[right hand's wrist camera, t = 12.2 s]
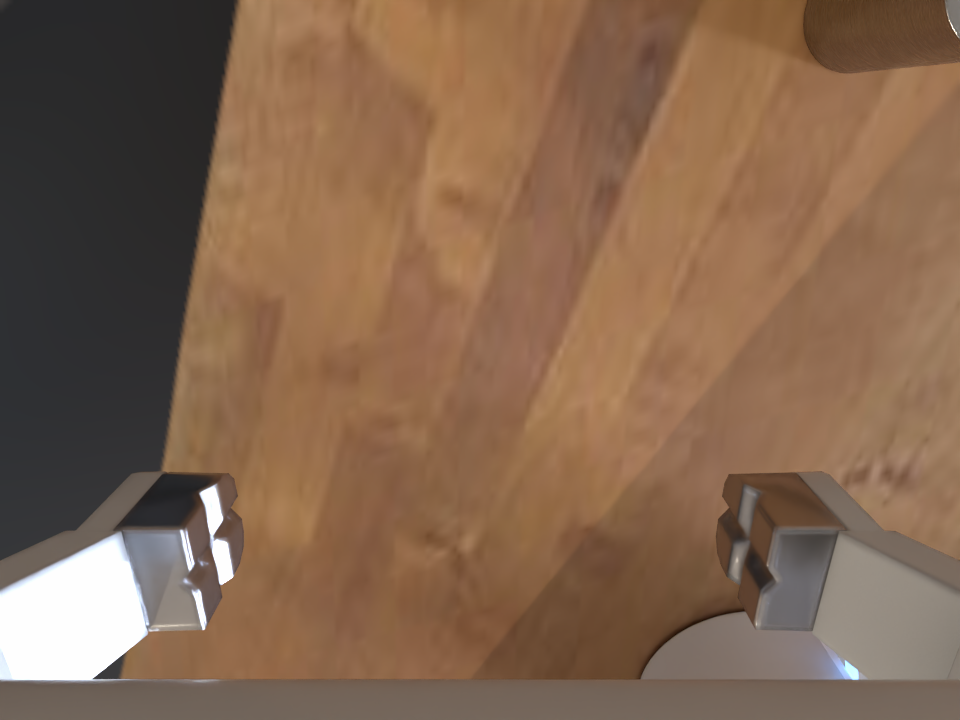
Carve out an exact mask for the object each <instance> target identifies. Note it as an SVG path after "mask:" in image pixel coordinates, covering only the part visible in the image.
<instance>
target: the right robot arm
mask: <svg viewBox="0 0 960 720" xmlns="http://www.w3.org/2000/svg"><path fill="white" fill-rule="evenodd" d="M237 497H238V495H237V490H236V485H235V481H234V478H233V477H232V476H231V475H230V474H229V473H193V472H169V473H168V472H138V473H133V474H131V475H130V476H129V477H128V478H127V479H126V480H125V481H124V482H123V483H122V484H121V485H120V486H119V487H118V488H117V489H116V490H115V491H114V492H113V493H112V494H111V495H110V496H109V497H108V498H107V499H106V500H105V502H103V503H102V504H101V506H100V507H99V508H98V509H97V510H96V511H95V512H94V513H93V514H92V515H91V516H90V517H89V518H88V519H87V520H86V521H85V522H84V523H83V524H82V525H81V526H80V527H79V528H78V529H77V530H76V531H64V532H62V533H60V534H58V535H56V536H53V537H51V538H49V539H47V540H45V541H42V542H40V543H38V544H36V545H34V546H31V547H29V548H27V549H25V550H23V551H20V552H18V553H16V554H14V555H12V556H10V557H7V558H5V559H3V560H1V561H0V720H960V561H959V560H957V559H955V558H953V557H950V556H948V555H946V554H944V553H942V552H939V551H937V550H935V549H933V548H931V547H928V546H926V545H924V544H922V543H920V542H918V541H915V540H913V539H911V538H909V537H907V536H904V535H902V534H900V533H898V532H896V531H884V530H883V529H882V528H881V527H880V526H879V525H878V524H877V523H876V522H875V521H874V520H873V519H872V518H871V517H870V516H869V515H868V514H867V513H866V512H865V511H864V510H863V508H862V507H861V506H860V505H859V504H858V503H857V502H856V501H855V500H854V499H853V498H852V497H851V496H850V495H849V494H848V493H847V492H846V491H845V490H844V489H843V488H842V487H841V486H840V485H839V484H838V483H837V482H836V481H835V480H834V479H833V478H832V477H831V476H830V475H829V474H827V473H824V472H822V471H818V472H791V473H758V474H729V475H728V477H727V479H726V481H725V484H724V489H723V494H722V497H723V498H724V500H725V501H726V503H727V505H728V506H729V509H728V510H727V511H726V512H725V513H724V514H723V515H722V516H721V517H720V518H719V519H718V524H717V532H716V543H717V554H718V557H719V560H720V564H721V566H722V568H723V570H724V572H725V574H726V576H727V577H728V578H729V579H731V580H732V581H734V582H735V583H737V584H738V585H740V588H739V593H738V599H739V601H740V602H741V604H742V606H743V608H744V610H745V612H737V613H730V614H725V615H721V616H717V617H714V618H710V619H708V620H705V621H702V622H700V623H697V624H695V625H693V626H691V627H689V628H687V629H685V630H683V631H682V632H680V633H679V634H677V635H676V636H674V637H673V638H671V639H670V640H669V641H668V642H666V643H665V644H664V645H663V646H662V647H661V648H660V649H659V650H658V651H657V652H656V653H655V654H654V656H653V657H652V658H651V659H650V661H649V662H648V664H647V666H646V667H645V669H644V671H643V673H642V676H641V679H92V678H94V677H95V676H96V675H97V674H99V673H100V672H101V671H102V670H103V669H105V668H106V667H107V666H109V665H110V664H111V663H112V662H114V661H115V660H116V659H117V658H119V657H120V656H121V655H122V654H124V653H125V652H126V651H127V650H129V649H130V648H131V647H132V646H134V645H135V644H136V643H137V642H139V641H140V640H141V639H143V638H144V637H145V636H146V635H148V632H147V631H177V630H205V628H206V626H207V625H208V623H209V621H210V619H211V617H212V615H213V614H214V612H215V610H216V608H217V606H218V604H219V602H220V601H221V599H222V593H221V588H220V585H222V584H223V583H225V582H226V581H228V580H229V579H231V578H232V577H233V576H234V574H235V572H236V570H237V568H238V566H239V564H240V560H241V556H242V551H243V547H244V530H243V524H242V519H241V518H240V517H239V516H238V515H237V514H236V513H235V512H234V511H233V510H232V509H231V506H232V505H233V503H234V501H235V500H236V498H237Z"/></svg>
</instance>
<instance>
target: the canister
mask: <svg viewBox="0 0 960 720" xmlns="http://www.w3.org/2000/svg"><path fill="white" fill-rule="evenodd" d="M804 34H805V39H806V42H807V45H808V48H809V50H810V52H811V53H812V55H813V56H814V57H815V59H816V60H817V61H818V62H819V63H820V64H822V65H823V66H824V67H826V68H828V69H830V70H832V71H835V72H840V73H858V72H868V71H878V70H888V69H898V68H908V67H918V66H928V65H938V64H948V63H958V62H960V0H808V1H807V5H806V9H805V15H804Z"/></svg>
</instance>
